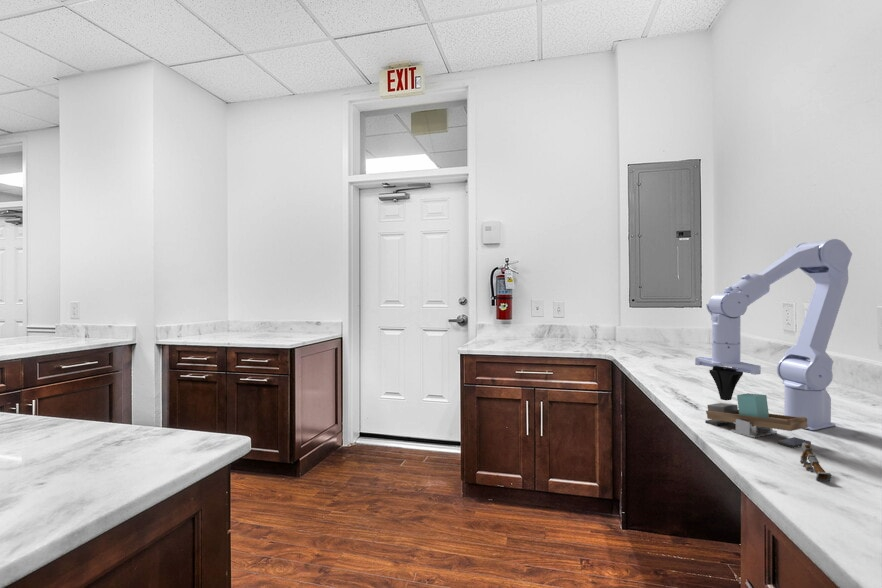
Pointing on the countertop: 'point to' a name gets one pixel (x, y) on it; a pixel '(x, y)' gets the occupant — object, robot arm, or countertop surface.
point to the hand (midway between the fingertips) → (725, 399)
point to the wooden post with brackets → (813, 463)
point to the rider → (753, 405)
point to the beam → (755, 418)
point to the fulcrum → (758, 431)
